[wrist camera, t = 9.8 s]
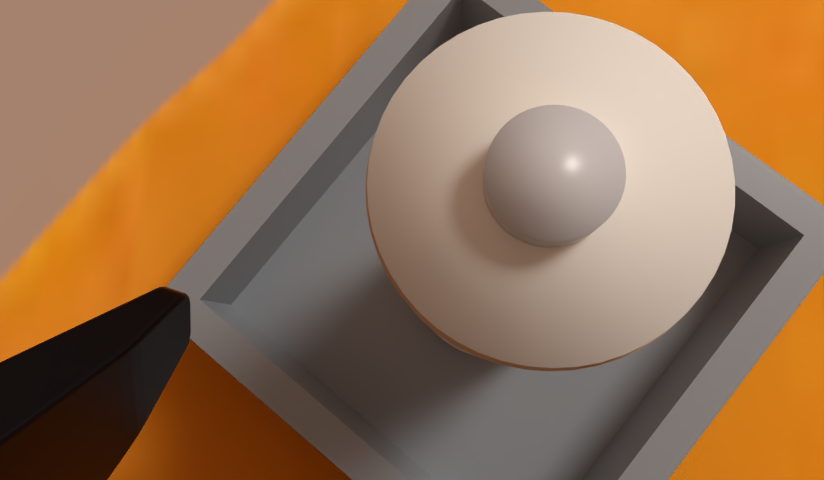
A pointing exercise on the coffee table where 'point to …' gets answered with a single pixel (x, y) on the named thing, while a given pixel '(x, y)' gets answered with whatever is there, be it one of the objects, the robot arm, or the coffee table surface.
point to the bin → (437, 360)
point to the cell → (550, 191)
